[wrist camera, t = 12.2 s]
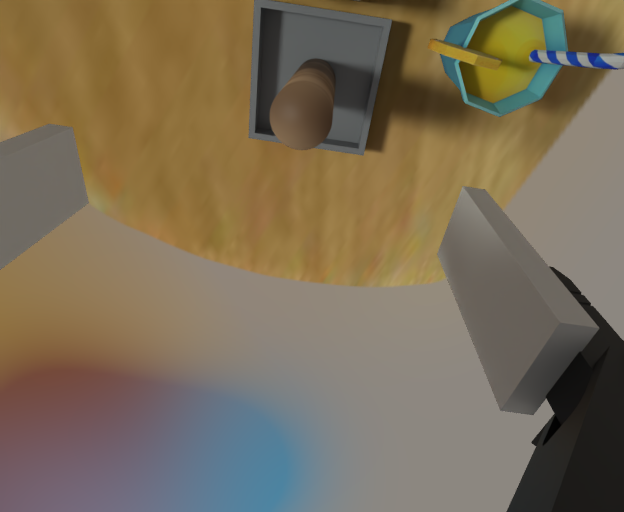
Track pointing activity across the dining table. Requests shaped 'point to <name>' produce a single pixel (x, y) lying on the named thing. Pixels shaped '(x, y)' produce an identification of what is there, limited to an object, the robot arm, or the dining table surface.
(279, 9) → the tray
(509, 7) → the cup
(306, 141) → the dowel
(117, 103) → the dining table surface
